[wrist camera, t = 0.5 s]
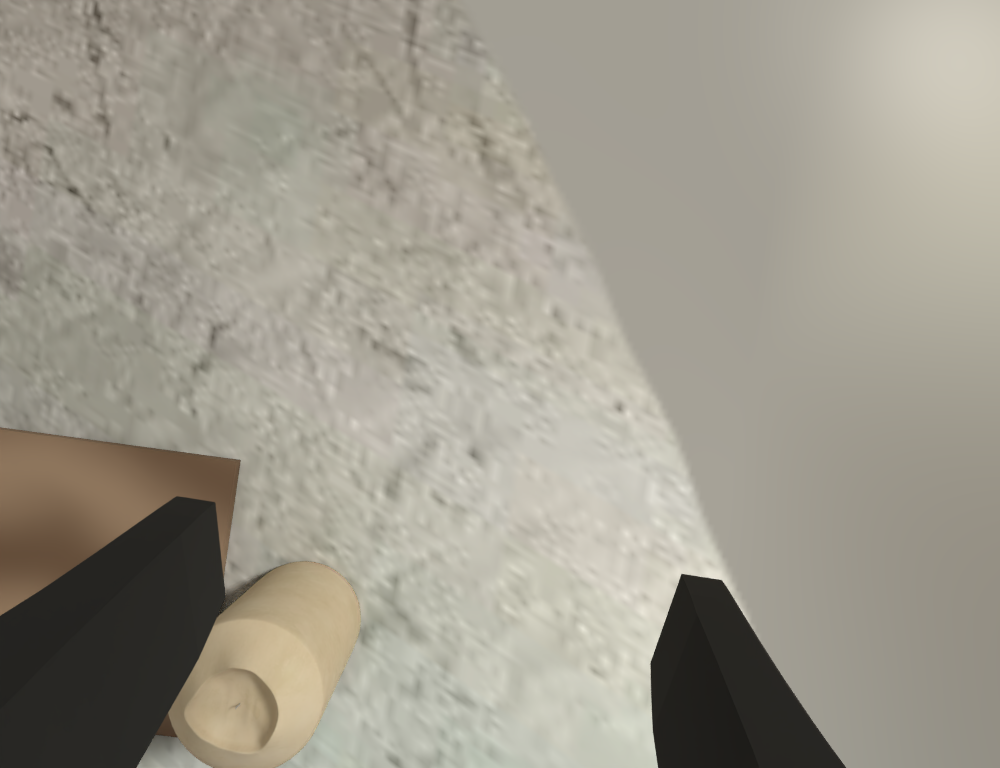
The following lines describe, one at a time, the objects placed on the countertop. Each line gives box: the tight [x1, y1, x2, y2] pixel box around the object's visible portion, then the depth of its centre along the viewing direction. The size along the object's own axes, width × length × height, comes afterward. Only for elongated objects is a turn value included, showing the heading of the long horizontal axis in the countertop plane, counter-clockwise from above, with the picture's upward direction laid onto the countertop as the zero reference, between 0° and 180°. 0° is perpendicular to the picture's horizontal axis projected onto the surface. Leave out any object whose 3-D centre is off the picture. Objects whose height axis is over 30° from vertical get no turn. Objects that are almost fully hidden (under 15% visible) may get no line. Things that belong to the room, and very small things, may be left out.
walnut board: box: [0, 428, 241, 737], centre depth 33 cm, size 13×12×1 cm
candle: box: [168, 561, 361, 768], centre depth 28 cm, size 6×6×10 cm
